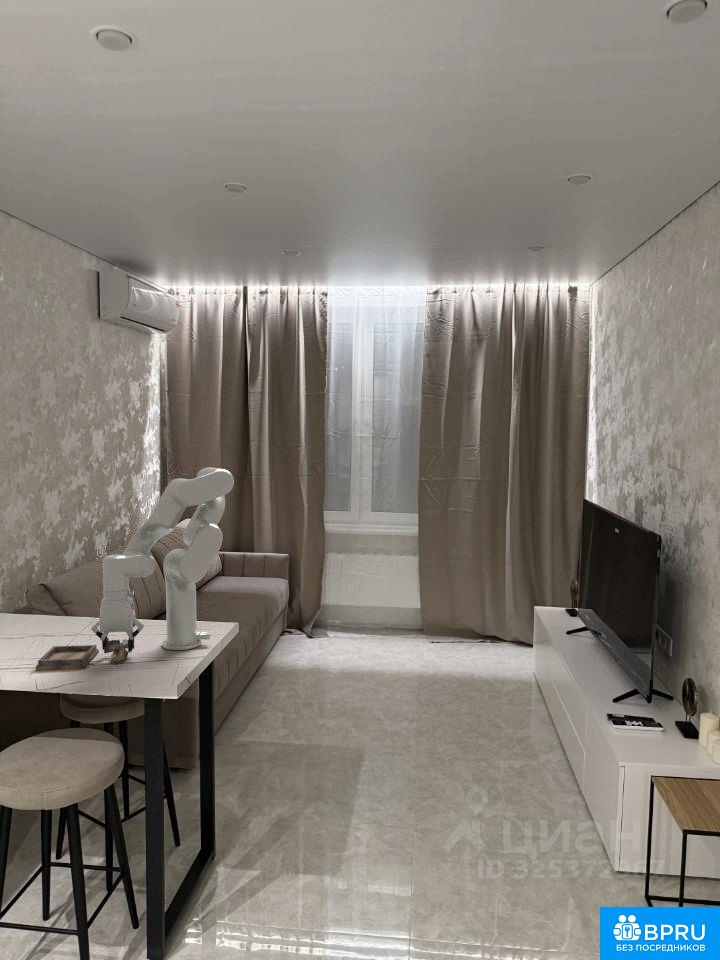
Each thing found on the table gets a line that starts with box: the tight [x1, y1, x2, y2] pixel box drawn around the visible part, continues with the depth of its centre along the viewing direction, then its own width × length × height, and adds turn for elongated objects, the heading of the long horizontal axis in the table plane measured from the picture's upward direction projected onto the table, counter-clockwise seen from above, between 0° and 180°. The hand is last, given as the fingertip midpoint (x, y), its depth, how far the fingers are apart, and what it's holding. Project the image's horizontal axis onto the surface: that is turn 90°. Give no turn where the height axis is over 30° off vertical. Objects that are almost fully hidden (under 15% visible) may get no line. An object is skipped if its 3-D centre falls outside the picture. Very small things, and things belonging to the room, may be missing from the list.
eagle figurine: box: [103, 638, 129, 665], centre depth 220 cm, size 8×7×9 cm
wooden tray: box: [35, 644, 100, 671], centre depth 218 cm, size 14×15×3 cm
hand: (118, 651), depth 222 cm, fingers closed on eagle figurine, 6 cm apart
